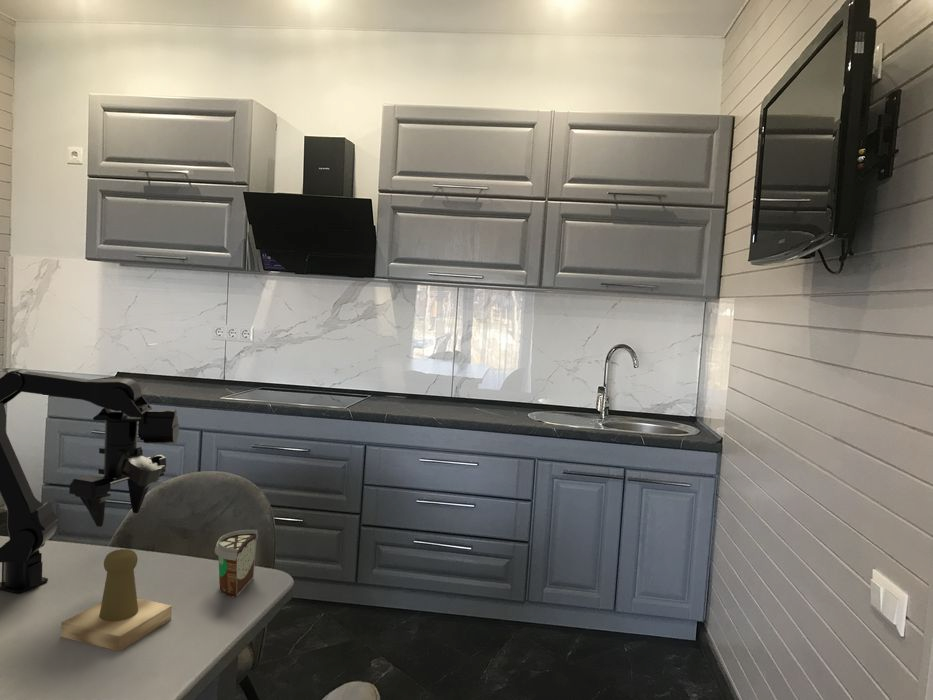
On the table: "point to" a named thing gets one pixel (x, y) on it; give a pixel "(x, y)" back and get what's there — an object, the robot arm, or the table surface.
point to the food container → (236, 560)
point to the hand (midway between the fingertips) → (118, 519)
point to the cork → (119, 586)
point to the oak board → (115, 625)
